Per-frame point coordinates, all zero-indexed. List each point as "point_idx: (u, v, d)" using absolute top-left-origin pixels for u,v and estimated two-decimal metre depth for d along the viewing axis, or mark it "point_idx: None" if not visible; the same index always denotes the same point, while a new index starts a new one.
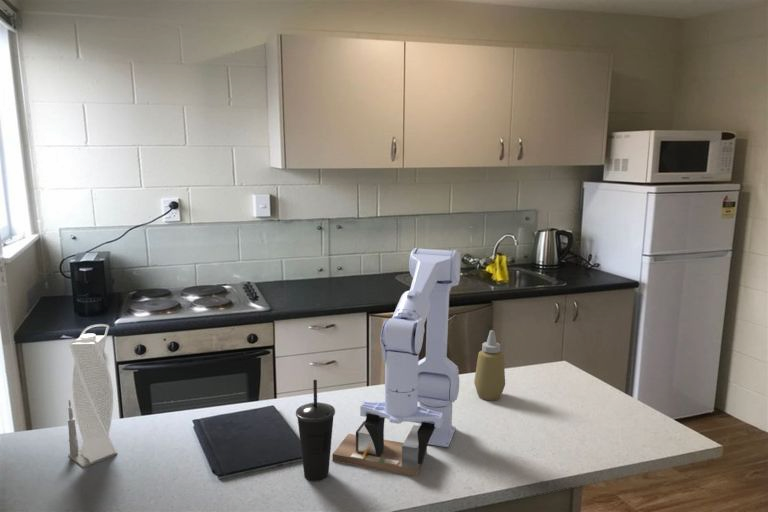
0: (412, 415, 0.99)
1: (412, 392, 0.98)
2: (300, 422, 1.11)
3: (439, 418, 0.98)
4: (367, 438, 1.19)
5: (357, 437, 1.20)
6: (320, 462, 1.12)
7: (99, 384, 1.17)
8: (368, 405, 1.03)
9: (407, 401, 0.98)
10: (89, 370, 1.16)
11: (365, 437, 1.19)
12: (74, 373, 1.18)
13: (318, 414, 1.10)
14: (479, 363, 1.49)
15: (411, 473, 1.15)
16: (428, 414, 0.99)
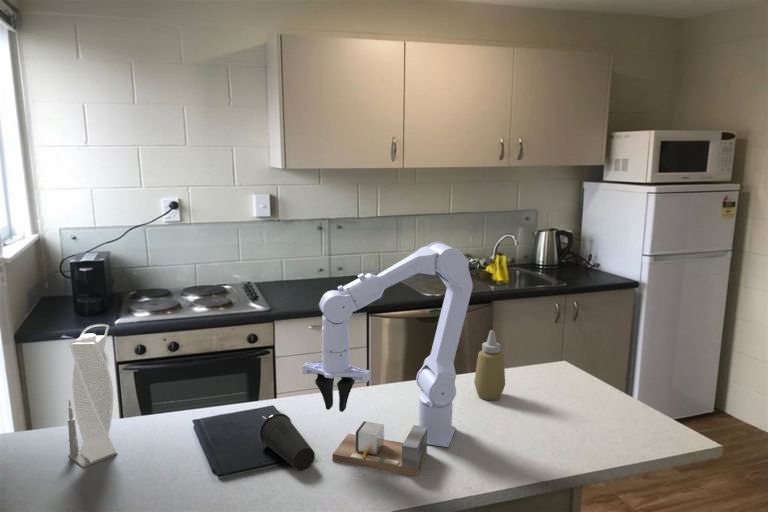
0: (344, 372, 1.19)
1: (343, 352, 1.18)
2: (263, 441, 1.24)
3: (365, 374, 1.18)
4: (367, 438, 1.19)
5: (357, 437, 1.20)
6: (287, 442, 1.17)
7: (99, 384, 1.17)
8: (309, 365, 1.23)
9: (339, 360, 1.18)
10: (89, 370, 1.16)
11: (365, 437, 1.19)
12: (74, 373, 1.18)
13: None
14: (479, 363, 1.49)
15: (411, 473, 1.15)
16: (357, 371, 1.20)
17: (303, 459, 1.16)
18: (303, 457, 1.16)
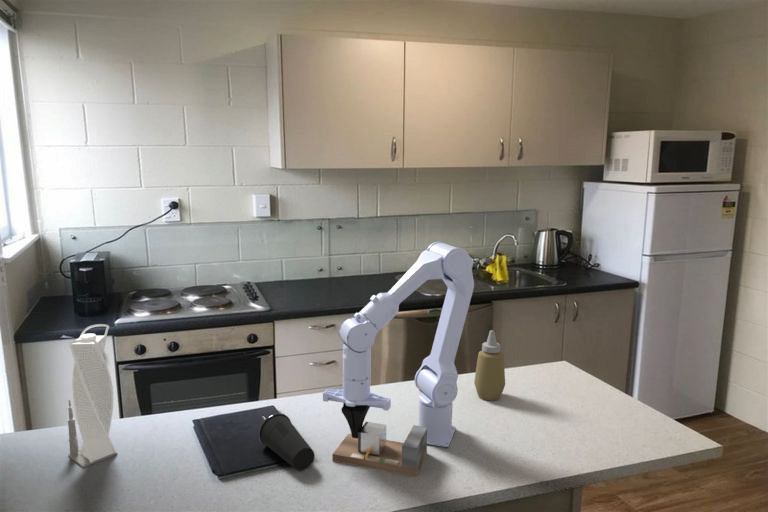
0: (365, 400, 1.19)
1: (364, 381, 1.18)
2: (263, 442, 1.24)
3: (387, 402, 1.18)
4: (369, 439, 1.19)
5: (359, 437, 1.20)
6: (286, 442, 1.17)
7: (99, 384, 1.17)
8: (329, 392, 1.23)
9: (360, 388, 1.18)
10: (89, 370, 1.16)
11: (367, 438, 1.19)
12: (74, 373, 1.18)
13: None
14: (479, 363, 1.49)
15: (411, 473, 1.15)
16: (378, 399, 1.20)
17: (303, 459, 1.15)
18: (303, 457, 1.15)
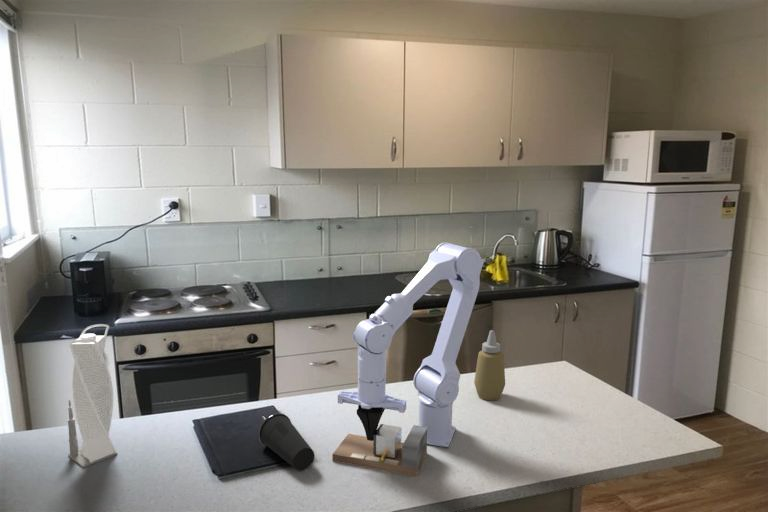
0: (380, 402, 1.18)
1: (380, 383, 1.17)
2: (263, 442, 1.24)
3: (402, 404, 1.17)
4: (385, 441, 1.18)
5: (375, 440, 1.19)
6: (286, 442, 1.17)
7: (99, 384, 1.17)
8: (344, 394, 1.22)
9: (375, 390, 1.17)
10: (89, 370, 1.16)
11: (383, 440, 1.18)
12: (74, 373, 1.18)
13: None
14: (479, 363, 1.49)
15: (411, 473, 1.15)
16: (394, 401, 1.18)
17: (303, 459, 1.15)
18: (303, 457, 1.15)
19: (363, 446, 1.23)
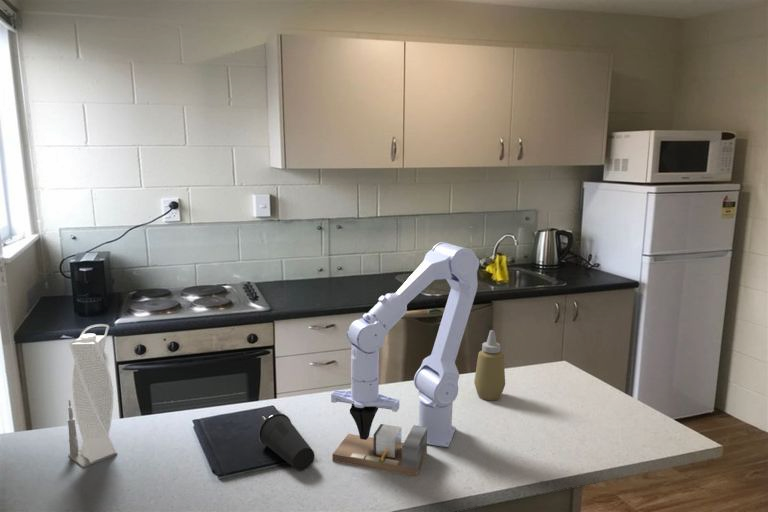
0: (373, 401, 1.18)
1: (373, 382, 1.18)
2: (263, 442, 1.24)
3: (396, 403, 1.18)
4: (385, 441, 1.18)
5: (375, 440, 1.19)
6: (286, 442, 1.17)
7: (99, 384, 1.17)
8: (338, 393, 1.22)
9: (368, 389, 1.17)
10: (89, 370, 1.16)
11: (383, 440, 1.18)
12: (74, 373, 1.18)
13: None
14: (479, 363, 1.49)
15: (411, 473, 1.15)
16: (387, 400, 1.19)
17: (303, 459, 1.15)
18: (303, 457, 1.15)
19: (363, 446, 1.23)
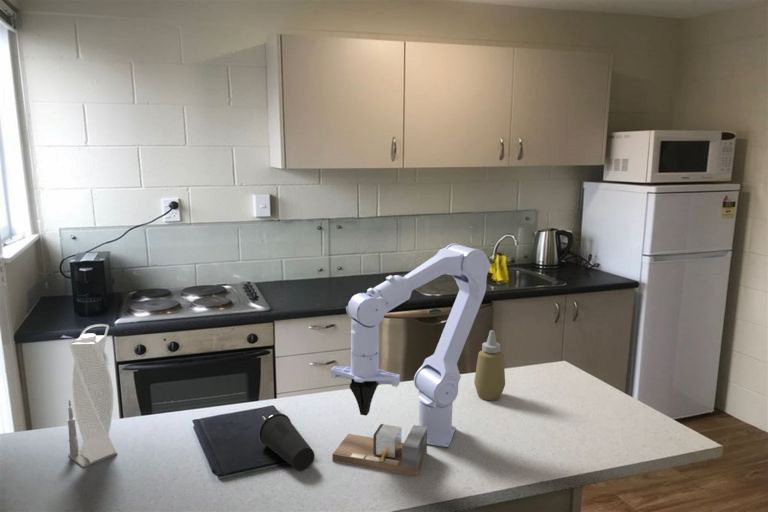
0: (373, 376, 1.17)
1: (373, 356, 1.17)
2: (263, 442, 1.24)
3: (396, 378, 1.17)
4: (385, 441, 1.18)
5: (375, 440, 1.19)
6: (286, 442, 1.17)
7: (99, 384, 1.17)
8: (337, 369, 1.21)
9: (368, 364, 1.16)
10: (89, 370, 1.16)
11: (383, 440, 1.18)
12: (74, 373, 1.18)
13: None
14: (479, 363, 1.49)
15: (411, 473, 1.15)
16: (387, 375, 1.18)
17: (303, 459, 1.15)
18: (303, 457, 1.15)
19: (363, 446, 1.23)
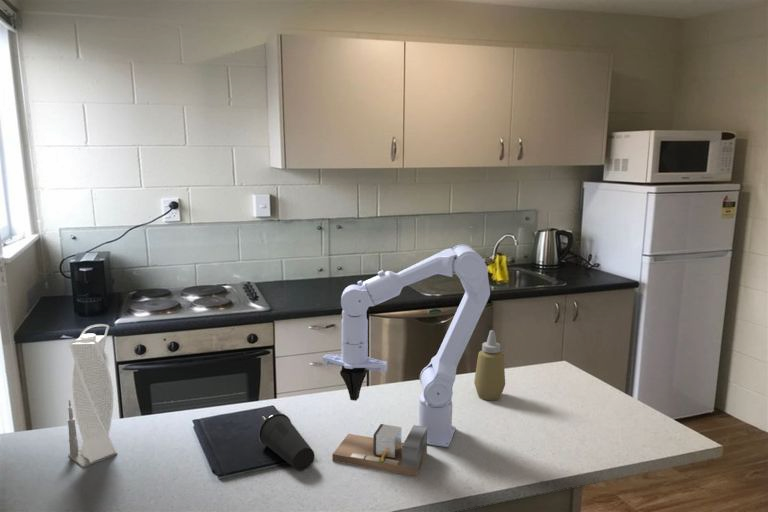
0: (362, 363, 1.24)
1: (362, 344, 1.23)
2: (263, 442, 1.24)
3: (384, 365, 1.23)
4: (385, 441, 1.18)
5: (375, 440, 1.19)
6: (286, 442, 1.17)
7: (99, 384, 1.17)
8: (329, 356, 1.28)
9: (358, 352, 1.23)
10: (89, 370, 1.16)
11: (383, 440, 1.18)
12: (74, 373, 1.18)
13: None
14: (479, 363, 1.49)
15: (411, 473, 1.15)
16: (375, 362, 1.25)
17: (303, 459, 1.15)
18: (303, 457, 1.15)
19: (363, 446, 1.23)
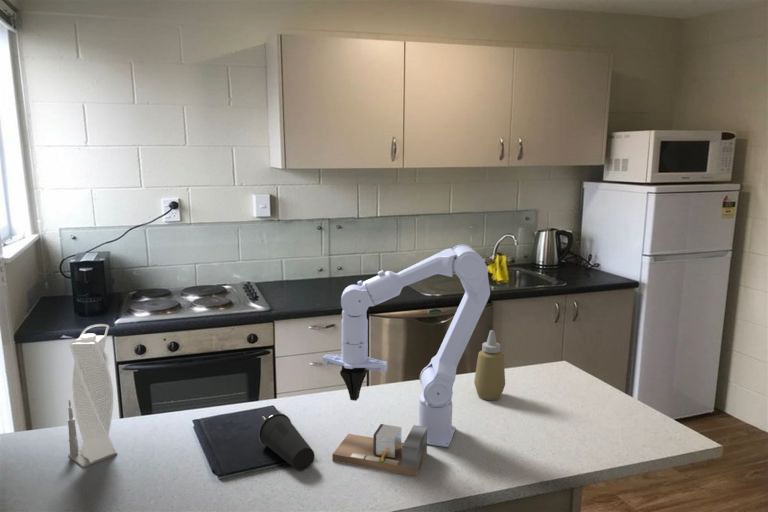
0: (362, 363, 1.24)
1: (362, 344, 1.23)
2: (263, 442, 1.24)
3: (384, 365, 1.23)
4: (385, 441, 1.18)
5: (375, 440, 1.19)
6: (286, 442, 1.17)
7: (99, 384, 1.17)
8: (329, 356, 1.28)
9: (358, 352, 1.23)
10: (89, 370, 1.16)
11: (383, 440, 1.18)
12: (74, 373, 1.18)
13: None
14: (479, 363, 1.49)
15: (411, 473, 1.15)
16: (375, 362, 1.25)
17: (303, 459, 1.15)
18: (303, 457, 1.15)
19: (363, 446, 1.23)
